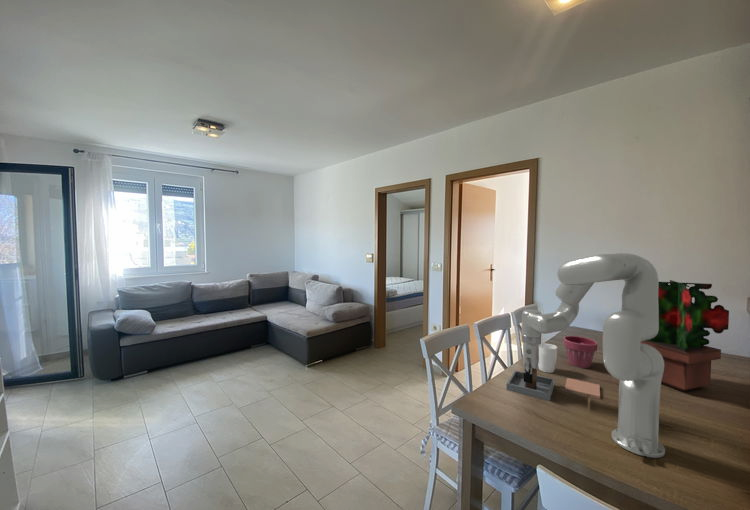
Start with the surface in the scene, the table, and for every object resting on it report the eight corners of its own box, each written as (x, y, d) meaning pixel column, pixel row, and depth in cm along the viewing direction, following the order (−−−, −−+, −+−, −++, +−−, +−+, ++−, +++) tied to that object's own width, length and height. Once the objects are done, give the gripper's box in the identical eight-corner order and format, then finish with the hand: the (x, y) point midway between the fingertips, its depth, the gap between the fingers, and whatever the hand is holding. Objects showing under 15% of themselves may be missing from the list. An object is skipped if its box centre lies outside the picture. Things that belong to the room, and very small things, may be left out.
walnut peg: (535, 390, 127) (535, 372, 127) (524, 388, 130) (524, 369, 129) (537, 386, 131) (537, 368, 130) (526, 384, 133) (526, 366, 133)
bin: (549, 403, 119) (550, 394, 119) (506, 391, 128) (506, 383, 128) (554, 387, 132) (554, 379, 132) (514, 377, 141) (514, 370, 141)
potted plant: (689, 399, 121) (693, 287, 119) (629, 376, 142) (632, 280, 140) (725, 391, 127) (730, 284, 125) (662, 370, 148) (666, 278, 146)
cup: (560, 374, 144) (560, 349, 144) (539, 373, 146) (539, 348, 145) (553, 366, 153) (553, 343, 152) (533, 365, 155) (534, 342, 154)
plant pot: (603, 367, 152) (604, 342, 151) (584, 372, 146) (585, 346, 146) (575, 357, 165) (575, 334, 164) (557, 361, 160) (557, 337, 159)
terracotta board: (600, 398, 122) (600, 396, 122) (564, 390, 129) (564, 388, 129) (599, 387, 132) (599, 384, 131) (566, 379, 139) (567, 377, 138)
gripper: (537, 346, 120) (536, 388, 121) (543, 335, 134) (542, 373, 135) (517, 342, 125) (516, 383, 126) (525, 332, 139) (524, 368, 140)
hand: (530, 378), depth 130 cm, fingers open, 9 cm apart
